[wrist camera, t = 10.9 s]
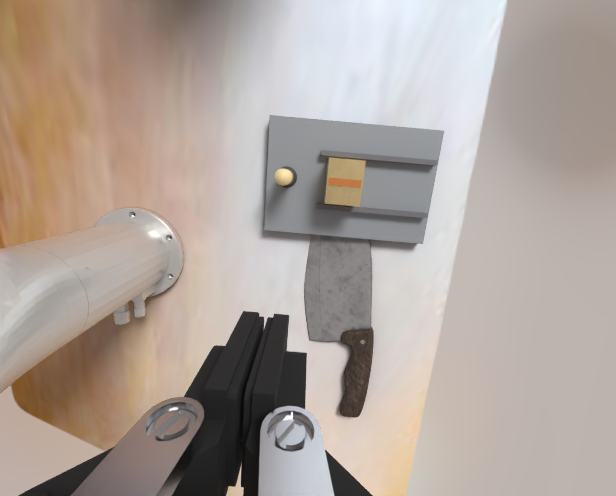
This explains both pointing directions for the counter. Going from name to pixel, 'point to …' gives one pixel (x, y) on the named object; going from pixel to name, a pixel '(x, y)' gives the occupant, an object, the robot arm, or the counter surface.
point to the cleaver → (342, 307)
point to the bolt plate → (376, 184)
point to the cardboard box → (344, 181)
